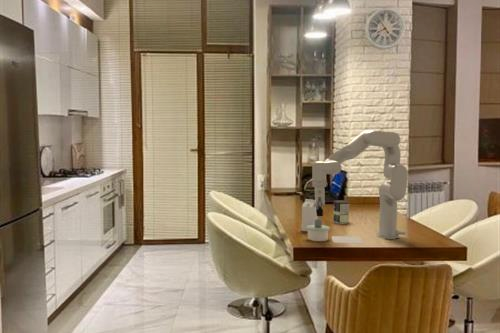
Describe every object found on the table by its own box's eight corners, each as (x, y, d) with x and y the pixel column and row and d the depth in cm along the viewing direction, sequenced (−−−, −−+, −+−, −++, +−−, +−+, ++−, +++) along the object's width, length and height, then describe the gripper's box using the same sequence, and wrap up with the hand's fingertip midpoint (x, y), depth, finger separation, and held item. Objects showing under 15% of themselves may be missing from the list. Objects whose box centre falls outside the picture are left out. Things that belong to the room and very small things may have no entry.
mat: (360, 237, 277) (360, 237, 277) (363, 244, 261) (363, 243, 261) (331, 236, 279) (331, 236, 279) (333, 243, 263) (333, 242, 263)
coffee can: (331, 223, 321) (332, 201, 320) (334, 220, 330) (335, 199, 329) (347, 224, 317) (348, 202, 316) (349, 221, 327) (350, 200, 326)
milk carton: (307, 229, 300) (308, 198, 299) (317, 230, 296) (318, 199, 294) (301, 230, 295) (302, 199, 293) (311, 232, 290) (312, 200, 289)
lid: (329, 226, 277) (329, 218, 277) (330, 231, 264) (330, 222, 264) (306, 226, 279) (306, 217, 278) (306, 230, 266) (306, 221, 265)
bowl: (327, 237, 277) (327, 227, 276) (328, 242, 266) (328, 231, 265) (307, 237, 278) (307, 226, 277) (307, 241, 267) (308, 230, 267)
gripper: (327, 185, 261) (327, 217, 262) (325, 181, 278) (325, 211, 279) (312, 185, 261) (313, 217, 263) (312, 182, 279) (312, 211, 280)
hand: (319, 214), depth 271 cm, fingers open, 9 cm apart
